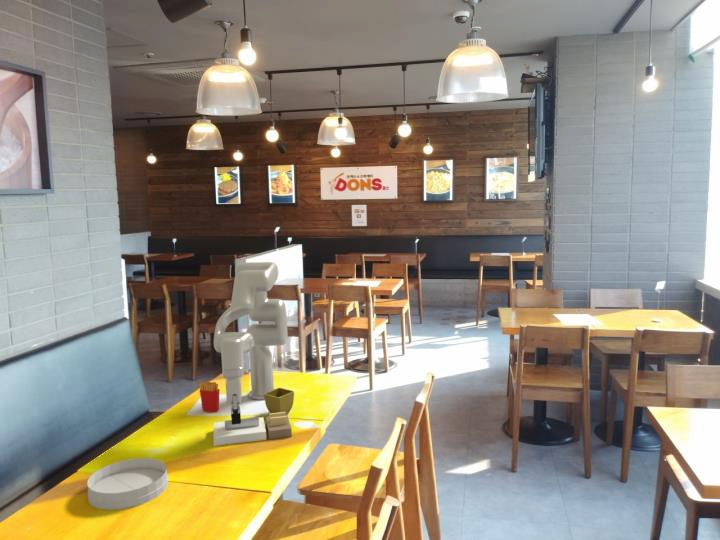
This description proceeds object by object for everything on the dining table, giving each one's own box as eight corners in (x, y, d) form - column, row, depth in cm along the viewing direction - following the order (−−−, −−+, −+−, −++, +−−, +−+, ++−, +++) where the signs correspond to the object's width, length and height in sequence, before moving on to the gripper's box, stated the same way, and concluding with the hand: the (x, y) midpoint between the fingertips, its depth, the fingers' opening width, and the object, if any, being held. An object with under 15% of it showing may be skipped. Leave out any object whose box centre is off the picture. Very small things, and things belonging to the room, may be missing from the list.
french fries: (222, 409, 232) (220, 381, 231) (217, 413, 229) (215, 384, 227) (203, 408, 235) (201, 379, 233) (198, 411, 231) (196, 382, 230)
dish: (143, 466, 184) (142, 451, 184) (183, 486, 170) (182, 470, 170) (73, 494, 167) (72, 478, 167) (111, 519, 153) (109, 502, 153)
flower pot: (279, 420, 219) (278, 397, 218) (264, 415, 224) (262, 393, 223) (295, 413, 226) (294, 391, 225) (280, 408, 231) (279, 387, 230)
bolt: (225, 426, 206) (223, 407, 205) (258, 422, 209) (257, 403, 208) (225, 430, 203) (223, 410, 202) (259, 426, 206) (258, 406, 205)
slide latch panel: (214, 430, 211) (213, 415, 210) (287, 422, 217) (286, 407, 216) (213, 446, 197) (212, 430, 197) (291, 436, 203) (291, 420, 203)
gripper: (222, 366, 210) (225, 413, 213) (222, 380, 194) (225, 431, 196) (243, 364, 212) (245, 411, 214) (244, 377, 196) (247, 428, 198)
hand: (236, 420), depth 205 cm, fingers open, 5 cm apart
